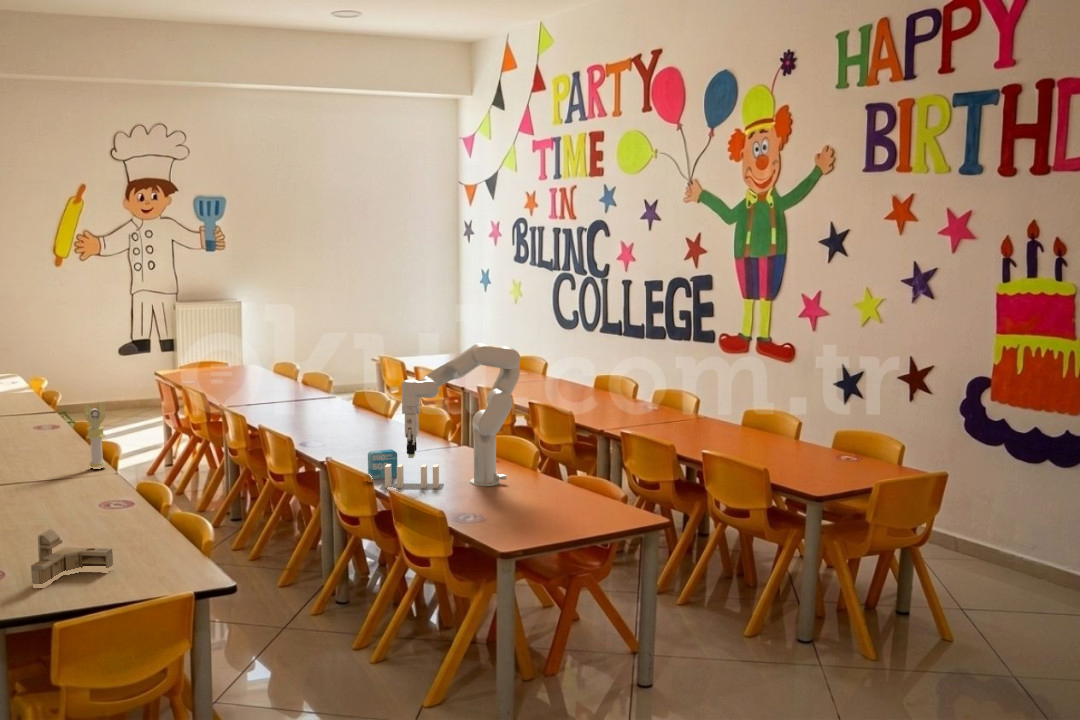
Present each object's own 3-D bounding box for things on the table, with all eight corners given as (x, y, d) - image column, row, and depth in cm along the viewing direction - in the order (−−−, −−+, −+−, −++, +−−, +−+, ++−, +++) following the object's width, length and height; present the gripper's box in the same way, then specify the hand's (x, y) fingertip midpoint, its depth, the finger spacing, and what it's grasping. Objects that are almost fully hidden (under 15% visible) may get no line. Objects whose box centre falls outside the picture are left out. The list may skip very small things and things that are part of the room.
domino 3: (414, 455, 425) (414, 434, 424) (413, 458, 420) (412, 436, 419) (410, 455, 425) (409, 434, 424) (408, 458, 420) (408, 436, 419)
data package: (370, 480, 436) (370, 453, 434) (368, 478, 440) (367, 451, 438) (397, 477, 441) (397, 450, 439) (394, 475, 445) (394, 448, 443)
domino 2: (403, 484, 426) (403, 464, 425) (401, 487, 422) (401, 466, 420) (398, 484, 426) (398, 464, 425) (397, 487, 422) (396, 466, 420)
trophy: (88, 471, 449) (85, 405, 445) (86, 468, 456) (83, 402, 452) (108, 469, 453) (105, 403, 449) (106, 466, 460) (103, 401, 456)
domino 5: (439, 485, 426) (438, 464, 425) (437, 488, 421) (437, 467, 420) (434, 485, 426) (434, 464, 425) (432, 488, 421) (432, 467, 420)
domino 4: (427, 485, 426) (426, 464, 425) (425, 488, 421) (425, 467, 420) (422, 485, 426) (422, 464, 425) (420, 488, 421) (420, 466, 420)
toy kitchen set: (82, 591, 304) (80, 542, 302) (29, 589, 305) (26, 540, 303) (113, 570, 322) (111, 524, 320) (63, 568, 324) (61, 522, 322)
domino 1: (391, 484, 427) (391, 463, 425) (389, 487, 422) (389, 466, 420) (387, 484, 427) (386, 463, 425) (385, 487, 422) (384, 466, 420)
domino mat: (444, 484, 429) (444, 483, 429) (441, 490, 419) (441, 489, 419) (383, 484, 429) (383, 483, 429) (379, 490, 419) (379, 489, 419)
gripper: (417, 413, 411) (417, 457, 414) (422, 406, 428) (423, 448, 430) (399, 413, 411) (399, 457, 414) (405, 405, 428) (405, 448, 430)
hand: (411, 452), depth 422 cm, fingers closed on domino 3, 4 cm apart
